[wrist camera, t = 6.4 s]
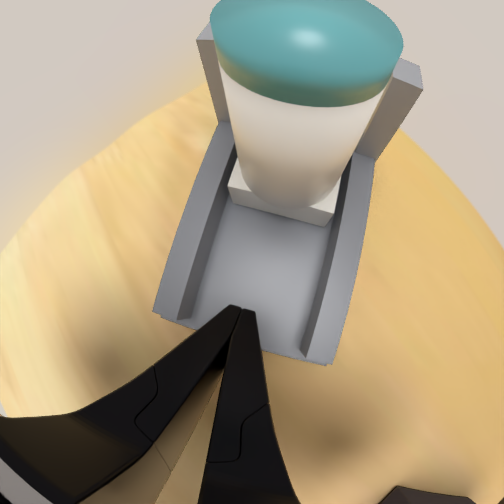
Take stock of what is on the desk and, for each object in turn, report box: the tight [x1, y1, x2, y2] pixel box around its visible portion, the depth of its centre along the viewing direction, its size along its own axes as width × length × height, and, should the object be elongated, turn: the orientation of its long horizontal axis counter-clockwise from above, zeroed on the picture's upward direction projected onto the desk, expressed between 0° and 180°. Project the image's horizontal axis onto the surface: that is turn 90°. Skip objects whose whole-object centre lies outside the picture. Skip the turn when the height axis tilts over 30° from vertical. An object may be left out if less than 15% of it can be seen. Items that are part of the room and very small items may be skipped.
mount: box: [152, 22, 423, 366], centre depth 11 cm, size 12×9×9 cm
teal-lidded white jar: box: [210, 0, 403, 227], centre depth 10 cm, size 5×5×10 cm
